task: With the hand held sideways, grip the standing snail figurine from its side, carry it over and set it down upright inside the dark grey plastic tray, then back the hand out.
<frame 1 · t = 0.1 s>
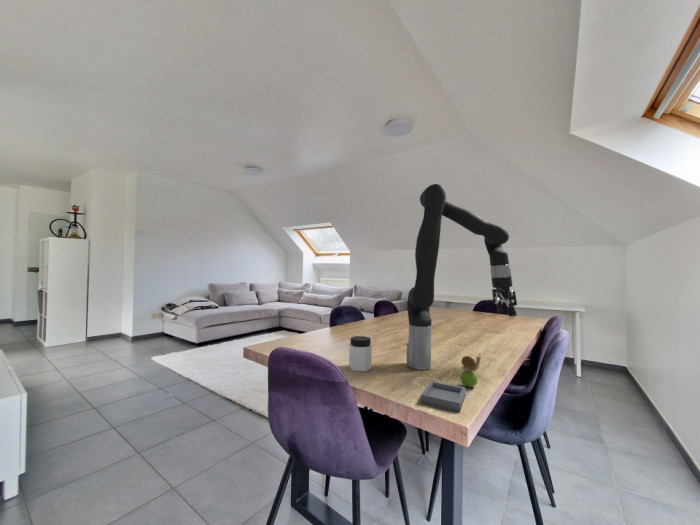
hand: (505, 314, 123), 22 cm above the table, tool pointing down, fingers open, 8 cm apart
jar: (359, 368, 119), on the table
tray: (444, 399, 92), on the table
snail figurine: (470, 387, 102), on the table
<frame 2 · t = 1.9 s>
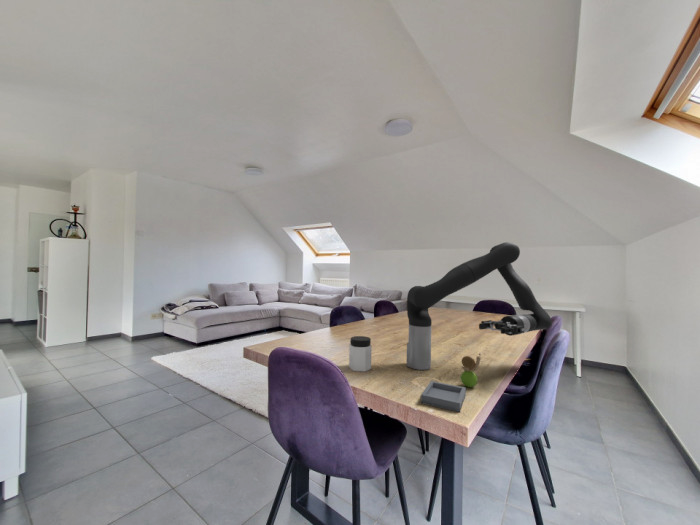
hand: (490, 328, 108), 19 cm above the table, tool horizontal, fingers open, 8 cm apart
nothing on the table moved.
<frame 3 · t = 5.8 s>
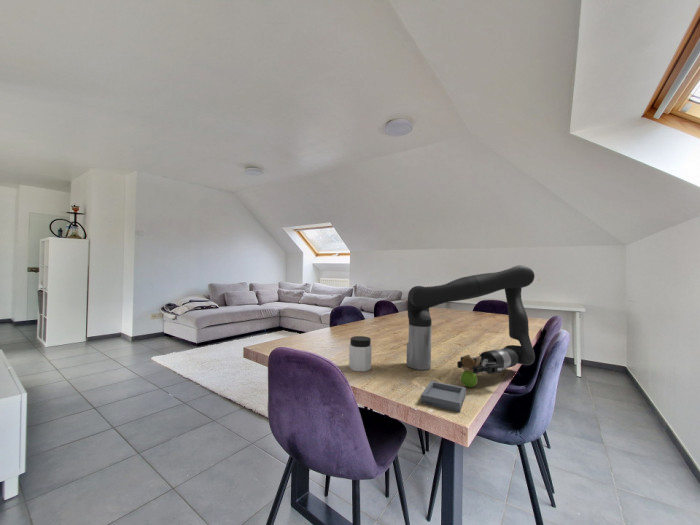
hand: (465, 367, 101), 7 cm above the table, tool horizontal, fingers open, 5 cm apart
snail figurine: (470, 387, 102), on the table, touching gripper
everything else where it was.
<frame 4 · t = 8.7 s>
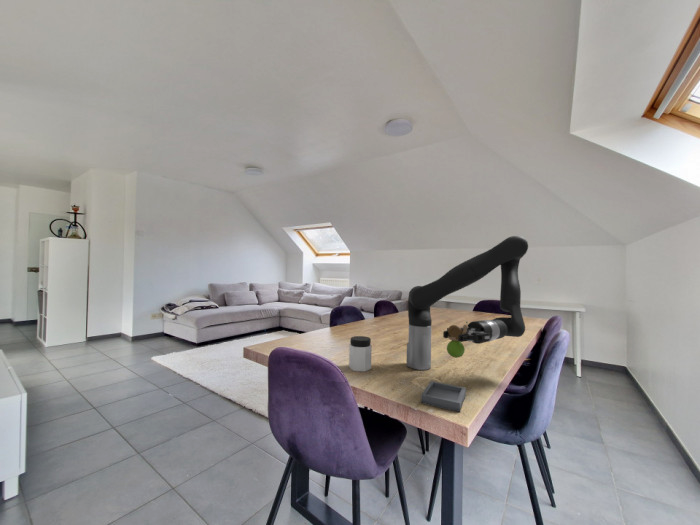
hand: (451, 336, 95), 19 cm above the table, tool horizontal, fingers closed on snail figurine, 5 cm apart
snail figurine: (457, 358, 96), point 12 cm above the table, touching gripper
everything else where it was.
when the fingers open (9 cm above the table, at t = 11.4 s): snail figurine moves 3 cm, resting on tray.
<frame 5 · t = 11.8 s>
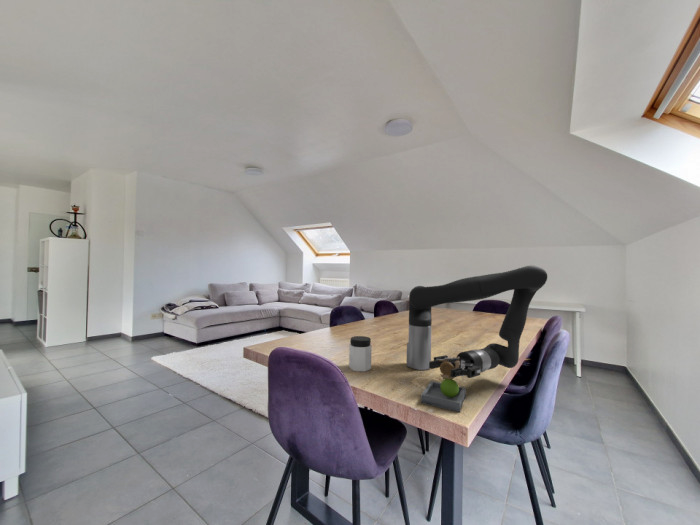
hand: (440, 369, 91), 9 cm above the table, tool horizontal, fingers open, 8 cm apart
snail figurine: (452, 398, 90), point 1 cm above the table, touching gripper, tray
everything else where it was.
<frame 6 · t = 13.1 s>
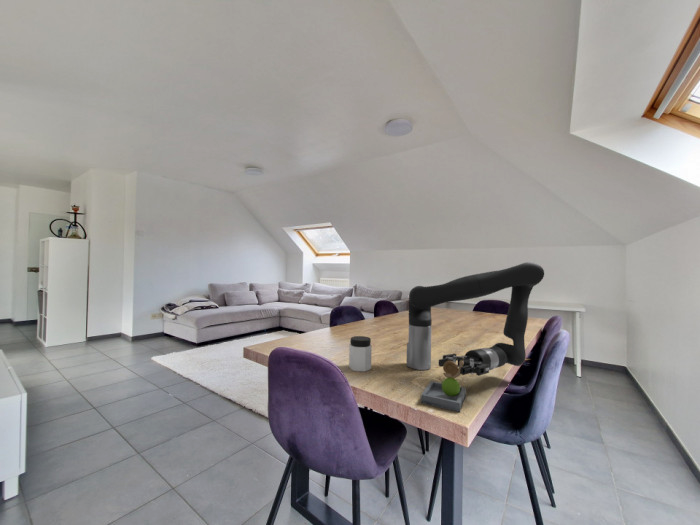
hand: (449, 367, 93), 9 cm above the table, tool horizontal, fingers open, 8 cm apart
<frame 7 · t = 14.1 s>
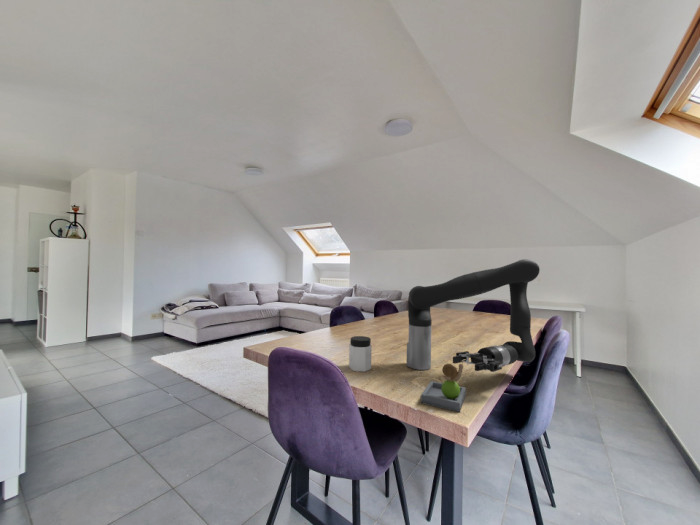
hand: (464, 363, 97), 9 cm above the table, tool horizontal, fingers open, 8 cm apart
snail figurine: (452, 399, 90), point 1 cm above the table, touching tray
everything else where it was.
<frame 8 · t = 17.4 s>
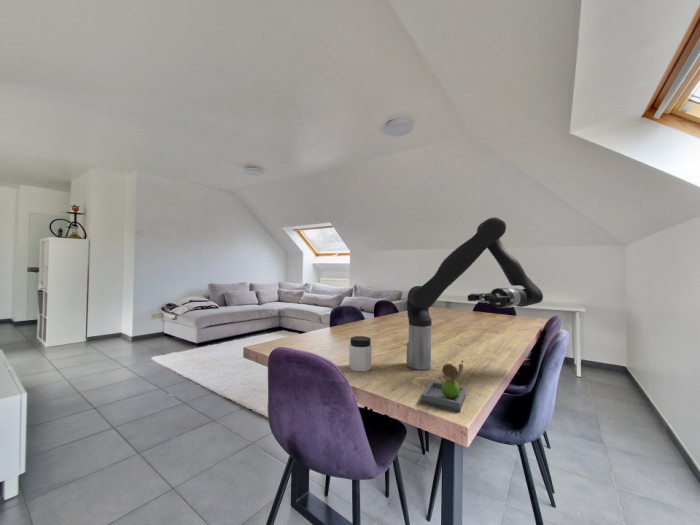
hand: (479, 299, 106), 30 cm above the table, tool horizontal, fingers open, 8 cm apart
nothing on the table moved.
at the end: snail figurine inside the target area on the tray (2.8 cm from its centre), point 0.8 cm above the tray's base; snail figurine tilted 1°; the gripper is holding nothing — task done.
